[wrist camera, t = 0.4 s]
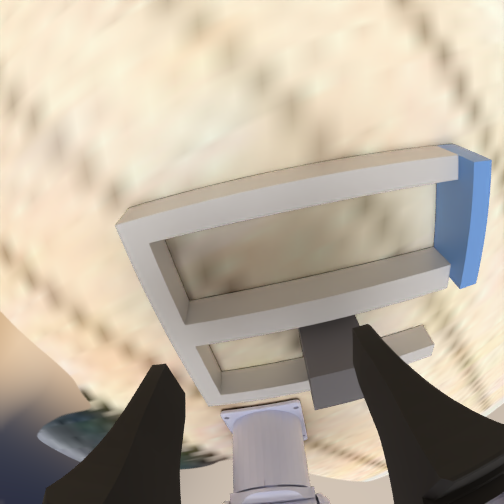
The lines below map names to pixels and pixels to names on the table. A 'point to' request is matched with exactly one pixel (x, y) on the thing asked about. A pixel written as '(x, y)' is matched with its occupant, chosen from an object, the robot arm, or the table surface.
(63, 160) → the table surface
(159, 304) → the grey blue slatted frame
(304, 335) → the dark gray block
